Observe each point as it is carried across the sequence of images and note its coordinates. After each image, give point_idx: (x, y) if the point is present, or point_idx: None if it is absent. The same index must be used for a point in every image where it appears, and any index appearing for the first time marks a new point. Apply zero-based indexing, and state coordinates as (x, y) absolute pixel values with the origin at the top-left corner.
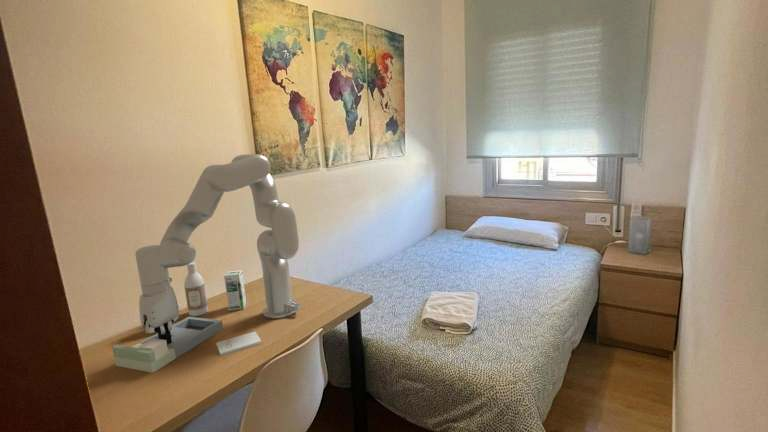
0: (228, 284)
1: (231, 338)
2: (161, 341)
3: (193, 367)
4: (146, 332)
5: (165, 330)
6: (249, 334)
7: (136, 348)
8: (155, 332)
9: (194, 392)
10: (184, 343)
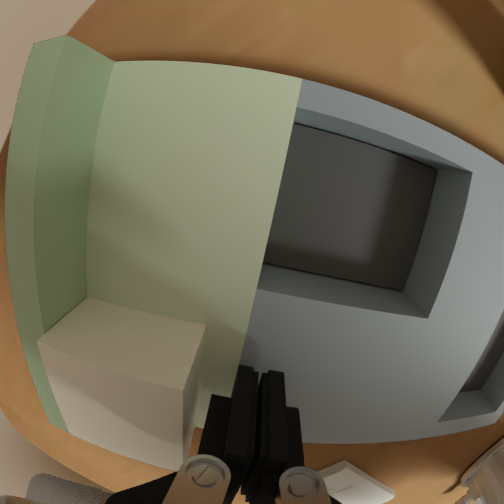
0: None
1: (365, 484)
2: (154, 459)
3: None
4: (39, 479)
5: (251, 497)
6: (376, 499)
7: (35, 315)
8: (184, 462)
9: (94, 471)
10: None
